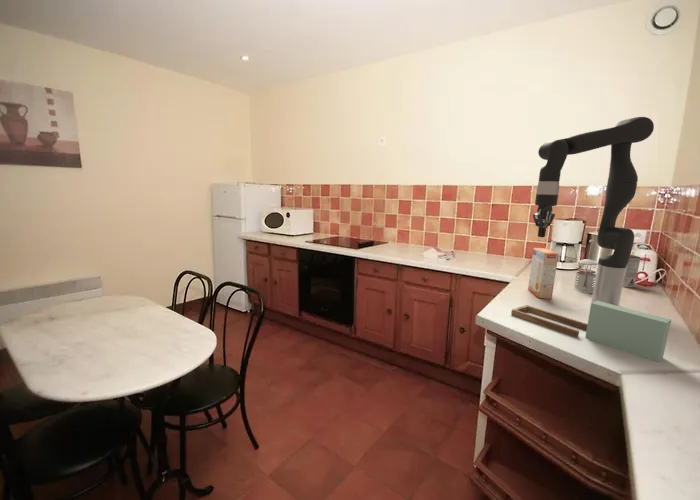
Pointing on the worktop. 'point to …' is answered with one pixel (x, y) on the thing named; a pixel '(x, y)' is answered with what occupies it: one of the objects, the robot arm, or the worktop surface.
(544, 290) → the cracker box
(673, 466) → the worktop surface
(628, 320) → the pale green rectangular block
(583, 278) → the french press
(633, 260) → the coffee box
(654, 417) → the worktop surface
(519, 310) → the open frame
